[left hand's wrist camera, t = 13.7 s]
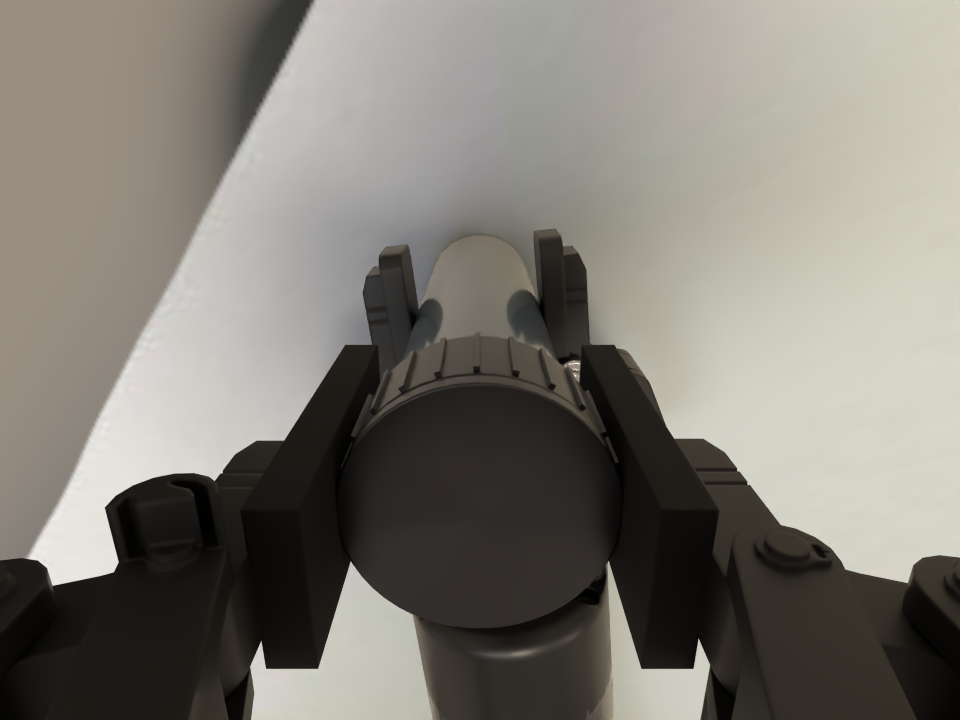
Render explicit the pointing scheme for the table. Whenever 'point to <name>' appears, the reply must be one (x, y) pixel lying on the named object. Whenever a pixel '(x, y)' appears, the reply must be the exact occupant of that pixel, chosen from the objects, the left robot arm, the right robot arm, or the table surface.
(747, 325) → the table surface
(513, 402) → the lid
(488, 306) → the blue-grey bottle
